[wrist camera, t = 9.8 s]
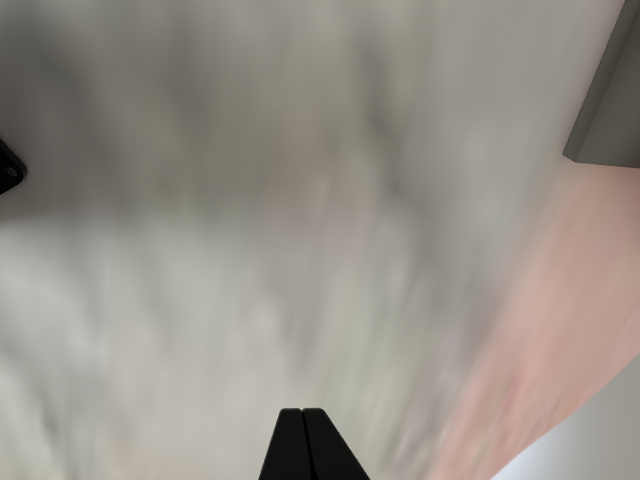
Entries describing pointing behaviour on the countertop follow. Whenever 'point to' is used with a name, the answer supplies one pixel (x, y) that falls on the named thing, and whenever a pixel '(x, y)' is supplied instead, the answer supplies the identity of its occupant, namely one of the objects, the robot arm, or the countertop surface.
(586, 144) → the base plate
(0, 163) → the robot arm
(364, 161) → the countertop surface
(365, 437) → the countertop surface
